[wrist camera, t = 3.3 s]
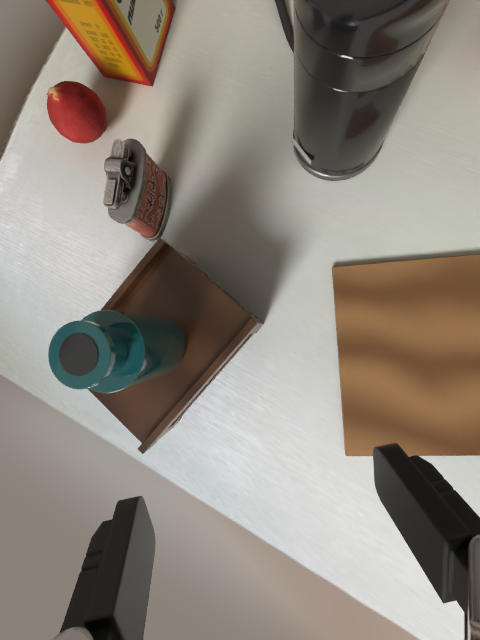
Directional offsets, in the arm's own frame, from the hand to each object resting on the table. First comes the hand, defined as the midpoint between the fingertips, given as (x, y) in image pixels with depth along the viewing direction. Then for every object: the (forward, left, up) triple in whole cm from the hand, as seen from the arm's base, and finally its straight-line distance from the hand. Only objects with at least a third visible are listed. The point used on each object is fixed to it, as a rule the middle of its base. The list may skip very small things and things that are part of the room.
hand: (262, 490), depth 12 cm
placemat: (-2, +13, -26) cm, 30 cm away
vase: (-5, -12, -19) cm, 23 cm away
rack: (-5, -12, -26) cm, 29 cm away
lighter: (-21, -14, -27) cm, 36 cm away
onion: (-31, -21, -27) cm, 46 cm away
